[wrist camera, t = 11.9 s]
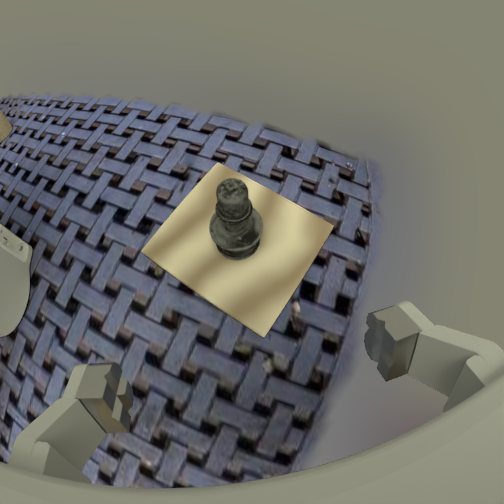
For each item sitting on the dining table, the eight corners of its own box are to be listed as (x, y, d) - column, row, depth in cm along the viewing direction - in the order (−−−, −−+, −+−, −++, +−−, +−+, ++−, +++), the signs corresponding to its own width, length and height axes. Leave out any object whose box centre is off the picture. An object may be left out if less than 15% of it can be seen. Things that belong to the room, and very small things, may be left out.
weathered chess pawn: (220, 213, 36) (207, 149, 25) (267, 222, 36) (272, 159, 25) (207, 256, 34) (186, 203, 23) (256, 267, 34) (257, 216, 23)
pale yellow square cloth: (144, 254, 36) (141, 251, 35) (218, 167, 41) (217, 162, 40) (263, 338, 32) (264, 337, 31) (331, 230, 37) (333, 226, 36)
